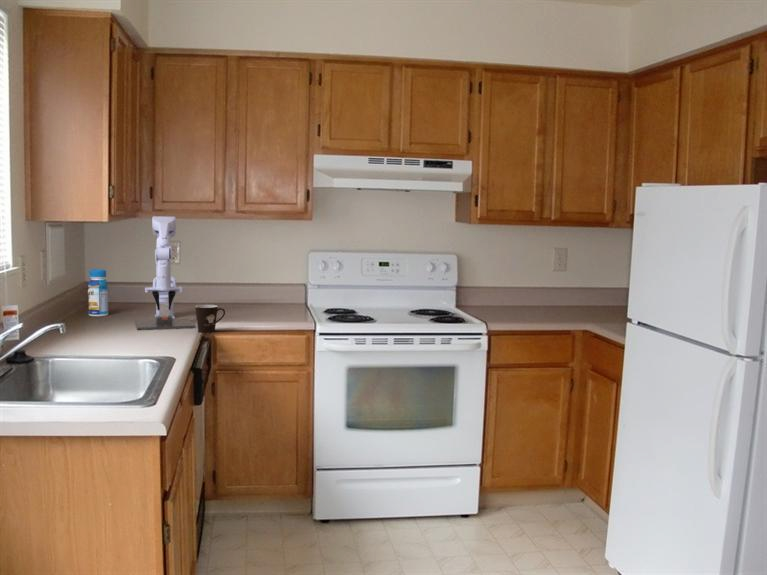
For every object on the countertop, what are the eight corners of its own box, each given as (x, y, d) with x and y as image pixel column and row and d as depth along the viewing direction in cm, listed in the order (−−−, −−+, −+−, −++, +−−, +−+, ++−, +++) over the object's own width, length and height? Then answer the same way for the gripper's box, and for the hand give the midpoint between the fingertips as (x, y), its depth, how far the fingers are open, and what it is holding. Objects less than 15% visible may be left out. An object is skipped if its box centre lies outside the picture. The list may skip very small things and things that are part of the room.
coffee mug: (195, 333, 288) (195, 307, 287) (195, 329, 296) (194, 304, 295) (226, 332, 291) (226, 307, 290) (224, 329, 299) (224, 304, 298)
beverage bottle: (109, 316, 326) (108, 270, 324) (89, 317, 322) (88, 270, 320) (107, 313, 334) (107, 268, 331) (87, 314, 330) (86, 269, 328)
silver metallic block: (158, 317, 307) (158, 302, 306) (168, 317, 308) (168, 302, 308) (159, 318, 304) (159, 303, 303) (169, 318, 305) (168, 303, 304)
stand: (134, 321, 313) (134, 313, 312) (188, 320, 321) (188, 311, 320) (137, 330, 292) (137, 321, 292) (194, 328, 300) (194, 319, 300)
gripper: (145, 277, 298) (145, 311, 299) (182, 277, 303) (183, 310, 305) (144, 276, 304) (144, 309, 306) (181, 275, 310) (181, 308, 311)
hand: (163, 309), depth 306 cm, fingers closed on silver metallic block, 4 cm apart
